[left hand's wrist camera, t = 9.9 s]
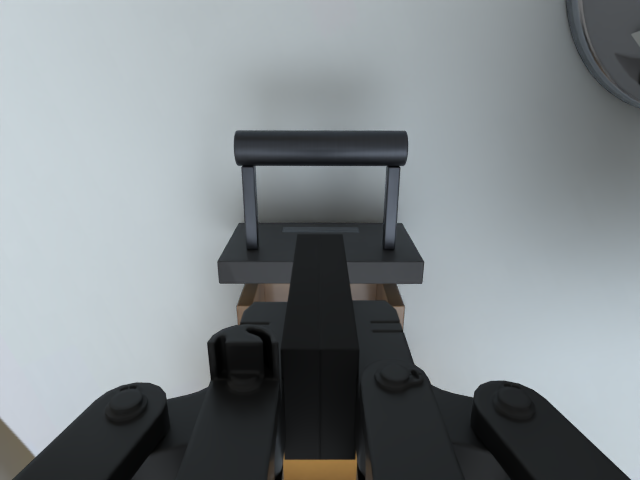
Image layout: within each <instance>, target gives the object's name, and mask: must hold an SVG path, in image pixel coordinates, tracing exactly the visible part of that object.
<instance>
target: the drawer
mask: <svg viewBox="0 0 640 480" xmlns="http://www.w3.org/2000/svg"><path fill="white" fill-rule="evenodd" d="M234 155H235V161H236V164H237V165H238V166H242V184H243V201H244V217H245V223H239V224H238V226H237V228H236V229H235V231H234V233H233V235H232V237H231V238H230V240H229V242H228V244H227V245H226V247H225V249H224V251H223V253H222V254H221V256H220V258H219V260H218V262H217V263H218V275H219V283H225V284H245V285H244V287H243V290H242V293H241V296H240V298H239V301H238V304H237V320H238V325H240V321H241V318H242V315H243V312H244V311H245V310H246V309H247V308H248V307H249V306H250V305H251V304H253V303H254V302H287V301H288V295H289V288H290V281H291V274H292V267H293V260H294V253H295V247H296V240H297V234H343V240H344V247H345V253H346V260H347V267H348V274H349V281H350V288H351V295H352V300H386V301H387V302H388V303H389V304H390V305H391V306H392V307H394V308H395V309H396V310H397V313H398V316H399V320H400V323H401V326H402V329H403V323H404V311H405V306H404V303H403V300H402V298H401V295H400V292H399V290H398V287H397V284H422V281H423V270H424V261H423V259H422V257H421V256H420V254H419V252H418V250H417V249H416V247H415V245H414V243H413V242H412V240H411V238H410V236H409V235H408V233H407V231H406V229H405V228H404V226H403V224H402V223H397V211H398V196H399V181H400V167H399V166H404V165H405V164H406V161H407V155H408V136H407V132H406V131H236V132H235V136H234ZM255 166H386V184H385V202H384V221H383V223H258V208H257V187H256V167H255Z"/></svg>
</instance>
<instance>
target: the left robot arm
mask: <svg viewBox="0 0 640 480" xmlns="http://www.w3.org/2000/svg"><path fill="white" fill-rule="evenodd" d="M566 1H567V12H568V19H569V25H570V29H571V33H572V37H573V39H574V42H575V45H576V48H577V50H578V52H579V54H580V56H581V58H582V60H583V62H584V64H585V65H586V67H587V68H588V70H589V71H590V73H591V74H592V75H593V76H594V77H595V79H596V80H597V81H598V82H599V83H600V84H601V85H602V86H603V87H604V88H605V89H606V90H607V91H609V92H610V93H612V94H613V95H614V96H616V97H617V98H619V99H621V100H622V101H624V102H626V103H628V104H630V105H633V106H635V107H638V108H640V0H566ZM207 346H208V356H209V365H210V375H211V381H210V384H209V387H207V388H205V389H203V390H201V391H199V392H196V393H192V394H189V395H185V396H180V397H176V398H171V399H167V398H166V393H165V392H164V391H163V390H162V389H161V387H159V386H157V385H154V384H151V383H132V384H127V385H122V386H119V387H117V388H115V389H113V390H110V391H108V392H106V393H105V394H104V395H102V396H101V397H99V398H98V399H97V400H95V401H94V402H93V403H92V404H91V405H90V406H89V407H88V408H87V409H86V410H85V411H84V412H83V413H82V414H81V415H80V416H79V417H77V418H76V419H75V420H74V421H73V422H72V423H71V424H70V425H69V426H68V427H67V428H66V429H65V430H64V431H63V432H62V433H61V434H60V435H59V436H58V437H56V438H55V439H54V440H53V441H52V442H51V443H50V444H49V445H48V446H47V447H46V448H45V449H44V450H43V451H42V452H41V453H40V454H39V455H38V456H37V457H35V458H34V459H33V460H32V461H31V462H30V463H29V464H28V465H27V466H26V467H25V468H24V469H23V470H22V471H21V472H20V473H19V474H18V475H17V476H16V477H15V478H13V479H12V480H284V473H283V459H284V460H356V457H357V473H356V480H631V479H630V478H629V477H628V476H627V475H625V474H624V473H623V472H622V471H621V470H620V469H619V468H618V467H617V466H616V465H615V464H614V463H613V462H612V461H611V460H610V459H609V458H608V457H606V456H605V455H604V454H603V453H602V452H601V451H600V450H599V449H598V448H597V447H596V446H595V445H594V444H593V443H592V442H591V441H590V440H588V439H587V438H586V437H585V436H584V435H583V434H582V433H581V432H580V431H579V430H578V429H577V428H576V427H575V426H574V425H573V424H572V423H570V422H569V421H568V420H567V419H566V418H565V417H564V416H563V415H562V414H561V413H560V412H559V411H558V410H557V409H556V408H555V407H554V406H553V405H551V404H550V403H549V402H548V401H547V400H546V399H545V398H544V397H542V396H541V395H540V394H538V393H537V392H535V391H534V390H532V389H530V388H528V387H525V386H523V385H521V384H518V383H513V382H508V381H489V382H487V383H484V384H481V385H480V386H479V387H478V388H477V389H476V390H475V392H474V398H472V397H468V396H463V395H459V394H454V393H451V392H447V391H444V390H441V389H439V388H437V387H435V386H433V385H431V383H430V380H429V378H428V377H427V375H426V374H425V372H424V371H423V370H421V369H420V368H419V367H417V366H416V365H414V362H413V359H412V356H411V353H410V350H409V347H408V344H407V341H406V338H405V335H404V333H403V329H402V326H401V323H400V320H399V316H398V313H397V310H396V309H395V308H394V307H392V306H391V305H390V304H389V303H388V302H387V301H386V300H352V295H351V288H350V281H349V274H348V267H347V260H346V253H345V247H344V240H343V234H297V240H296V247H295V253H294V260H293V267H292V274H291V281H290V288H289V295H288V301H287V302H254V303H253V304H251V305H250V306H249V307H248V308H247V309H246V310H245V311H244V312H243V315H242V318H241V321H240V325H235V326H231V327H228V328H225V329H222V330H221V331H219V332H217V333H216V334H214V335H213V336H212V337H211V338H210V340H209V341H208V342H207Z"/></svg>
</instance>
